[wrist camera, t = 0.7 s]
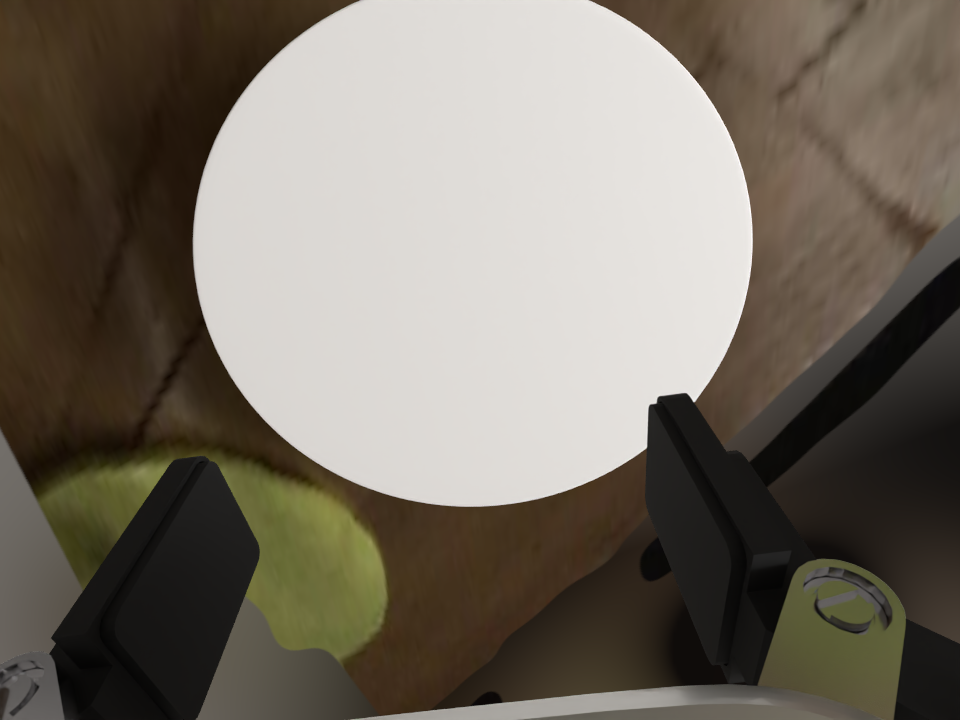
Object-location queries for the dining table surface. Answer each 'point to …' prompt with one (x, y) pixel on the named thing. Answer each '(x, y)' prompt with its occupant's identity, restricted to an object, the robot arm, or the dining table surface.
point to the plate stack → (471, 244)
